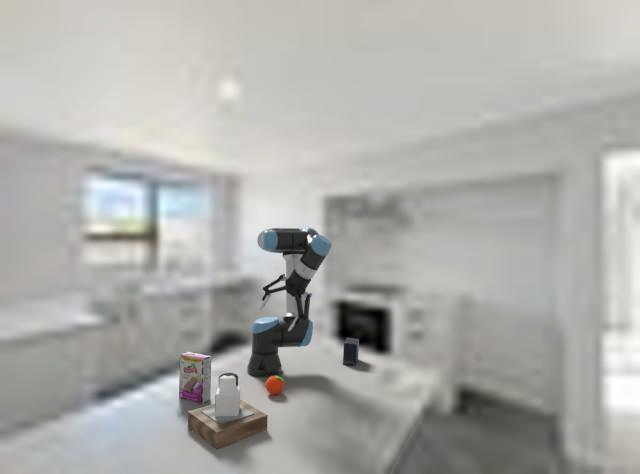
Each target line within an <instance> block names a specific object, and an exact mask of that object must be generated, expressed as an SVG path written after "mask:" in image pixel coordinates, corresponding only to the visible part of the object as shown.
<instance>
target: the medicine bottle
mask: <svg viewBox="0 0 640 474" xmlns="http://www.w3.org/2000/svg"><path fill="white" fill-rule="evenodd" d="M216 389H217V390H216V392H215V395H214V396H215V398H214V399H215V401H214V404H215V417H237V416H238V414H239V409H240V400H241V386H240V385H239V374H236V373H234V372H225V373H222V374H220V375H219V376H218V387H217V388H216Z"/></svg>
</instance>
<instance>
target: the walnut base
mask: <svg viewBox="0 0 640 474" xmlns="http://www.w3.org/2000/svg"><path fill="white" fill-rule="evenodd" d="M268 416H269V415H268V414H266V413H265V412H263V411H261V410H259V409H258V408H256V407H254V406H253V405H251V404H249V403H247V402H246V401H244V400H242V399H240V409H239V414H238V416H237V417H215V403H213V404H209V405H205V406H202V407H199V408H195V409H191V410H188V411H187V428H189V430H191V431H192V432H194V433H195V434H196V435H197V436H199V437H200V438H201V439H202V440H204V442H206V443H207V444H209V445H210V446H212V447H213V448H214V449H215V450H218V449H221V448H224V447H227V446H229V445H231V444H235V443H237V442H241V441H243V440H246V439H248V438H252V437H254V436H256V435H259V434H262V433H265V432H267V431H268Z"/></svg>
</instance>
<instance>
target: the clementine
mask: <svg viewBox="0 0 640 474" xmlns="http://www.w3.org/2000/svg"><path fill="white" fill-rule="evenodd" d="M285 383H286V382H285V380H284V378H282V377H281V376H278V375H274V376H269V377H268V379H267V380H266V382H265V389H266V391H267V393H269V394H270V395H279V394H280V393H282V391H283V389H284V386H285Z"/></svg>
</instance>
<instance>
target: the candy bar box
mask: <svg viewBox="0 0 640 474" xmlns="http://www.w3.org/2000/svg"><path fill="white" fill-rule="evenodd" d="M211 377H212V356H211V355H208V354H203V353H198V352H194V351H193V352H192V351H186V352H184V353H181V354H179V382H178V383H179V388H178V389H179V390H178V398H179V399H184V400H187V401H192V402H195V403H199V404H204V403H207V402H208V401H210V400H211V393H212V392H211V390H212V389H211V387H212V386H211V382H212V378H211Z"/></svg>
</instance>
